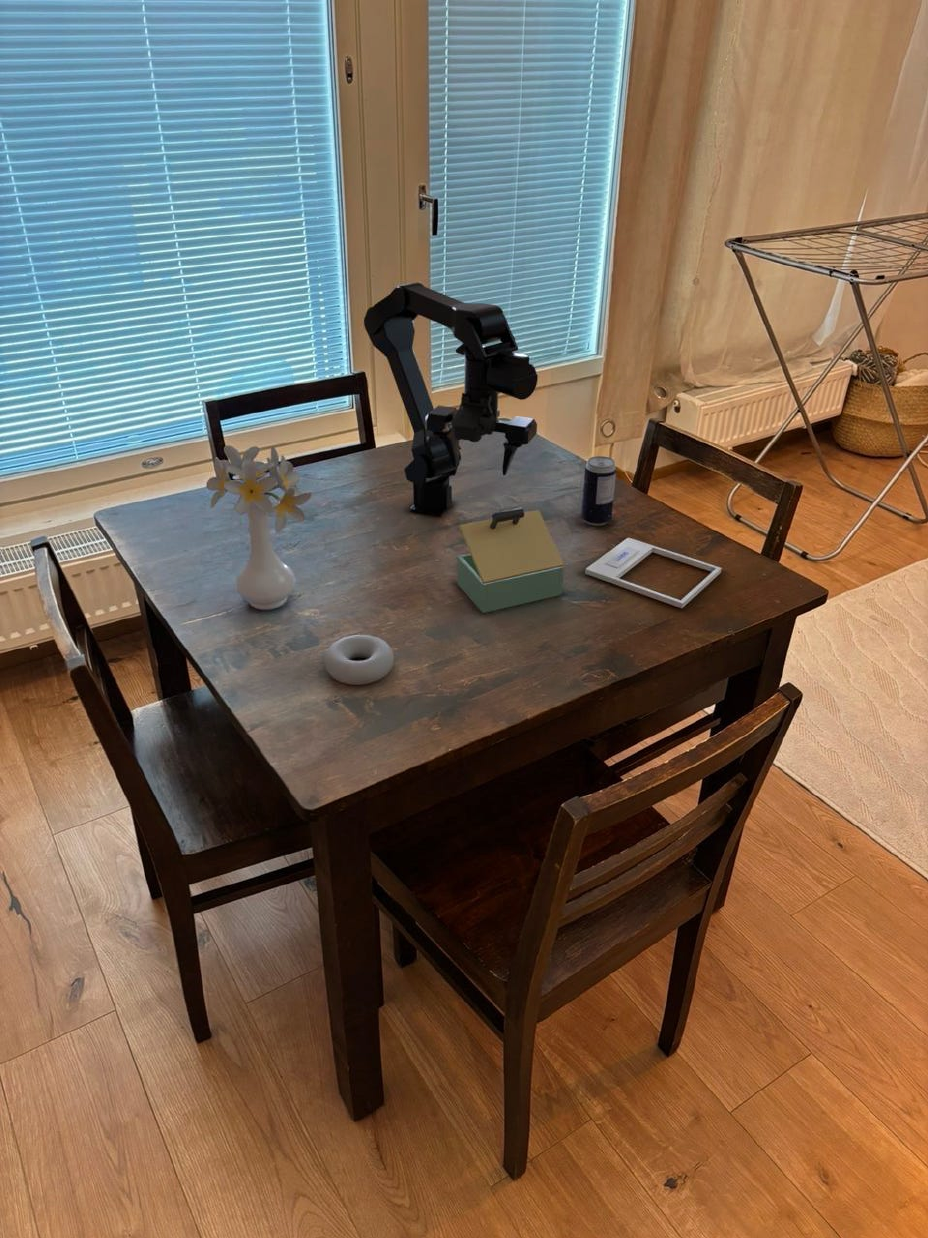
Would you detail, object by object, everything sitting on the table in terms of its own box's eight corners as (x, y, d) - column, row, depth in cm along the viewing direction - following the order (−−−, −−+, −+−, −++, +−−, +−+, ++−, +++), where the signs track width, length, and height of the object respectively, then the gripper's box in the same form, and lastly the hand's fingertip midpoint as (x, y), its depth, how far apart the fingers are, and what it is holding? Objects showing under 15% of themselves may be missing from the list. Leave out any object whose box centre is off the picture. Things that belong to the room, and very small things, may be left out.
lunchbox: (457, 583, 153) (457, 556, 150) (532, 566, 158) (534, 539, 155) (482, 613, 145) (483, 585, 143) (561, 594, 150) (563, 567, 147)
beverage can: (610, 514, 175) (616, 455, 169) (611, 528, 170) (617, 468, 164) (580, 513, 176) (585, 454, 169) (580, 526, 171) (585, 466, 164)
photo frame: (628, 536, 165) (721, 566, 156) (627, 541, 166) (720, 572, 156) (585, 567, 155) (682, 602, 146) (585, 573, 156) (681, 608, 147)
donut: (393, 648, 137) (326, 650, 136) (393, 629, 135) (324, 630, 135) (395, 689, 129) (323, 691, 128) (394, 669, 127) (321, 670, 126)
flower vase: (286, 637, 139) (268, 485, 126) (203, 600, 148) (178, 454, 135) (343, 600, 148) (332, 455, 135) (261, 568, 157) (243, 428, 144)
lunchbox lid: (459, 526, 147) (464, 512, 143) (537, 511, 152) (545, 496, 148) (482, 584, 143) (489, 570, 139) (563, 566, 148) (571, 552, 144)
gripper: (411, 392, 151) (413, 480, 159) (519, 406, 145) (515, 496, 154) (437, 372, 160) (437, 456, 168) (540, 385, 154) (535, 471, 162)
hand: (480, 470), depth 163 cm, fingers open, 9 cm apart
